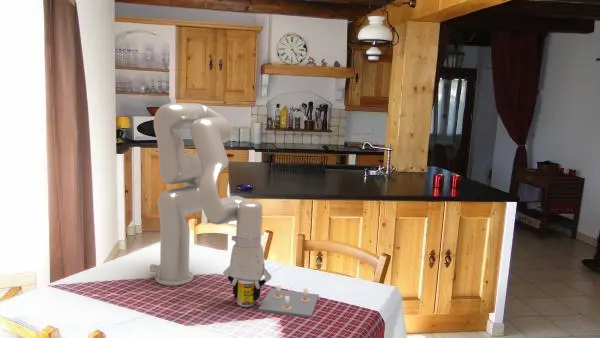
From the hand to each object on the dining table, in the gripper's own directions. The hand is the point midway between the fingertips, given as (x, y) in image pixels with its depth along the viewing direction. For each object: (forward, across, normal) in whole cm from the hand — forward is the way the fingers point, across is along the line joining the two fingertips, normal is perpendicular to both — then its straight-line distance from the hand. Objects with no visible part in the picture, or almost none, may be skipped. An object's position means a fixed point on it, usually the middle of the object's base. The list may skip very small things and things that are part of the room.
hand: (246, 297), depth 154 cm
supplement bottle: (+2, 0, 0) cm, 2 cm away
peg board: (+2, +13, +4) cm, 14 cm away
